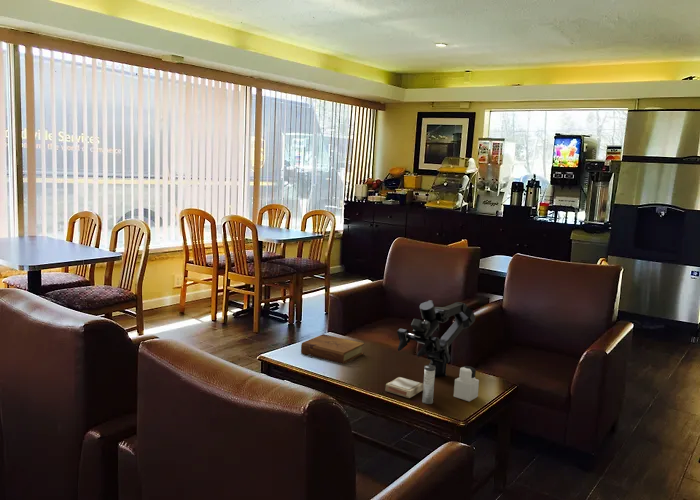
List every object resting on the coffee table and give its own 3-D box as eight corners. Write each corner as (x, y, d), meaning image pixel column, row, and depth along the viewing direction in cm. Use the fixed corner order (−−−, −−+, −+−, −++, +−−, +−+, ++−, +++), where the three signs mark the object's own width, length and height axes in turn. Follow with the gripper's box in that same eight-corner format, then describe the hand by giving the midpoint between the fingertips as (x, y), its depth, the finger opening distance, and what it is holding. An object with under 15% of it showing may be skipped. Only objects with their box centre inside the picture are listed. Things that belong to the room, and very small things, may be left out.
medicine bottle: (461, 391, 231) (464, 363, 230) (477, 396, 227) (480, 367, 225) (453, 396, 226) (455, 367, 224) (469, 402, 221) (471, 372, 220)
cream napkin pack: (399, 383, 237) (399, 376, 237) (422, 390, 231) (423, 382, 230) (384, 391, 228) (385, 383, 227) (409, 398, 222) (409, 390, 221)
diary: (300, 354, 268) (301, 343, 268) (322, 345, 284) (323, 334, 284) (342, 365, 257) (343, 352, 256) (363, 354, 273) (363, 342, 272)
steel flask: (430, 399, 222) (433, 364, 220) (434, 404, 218) (437, 368, 216) (420, 399, 221) (423, 364, 219) (423, 404, 217) (426, 368, 215)
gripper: (404, 309, 240) (384, 332, 231) (443, 318, 229) (423, 343, 219) (410, 329, 246) (390, 353, 236) (448, 339, 234) (429, 364, 224)
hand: (407, 352), depth 229 cm, fingers open, 9 cm apart
